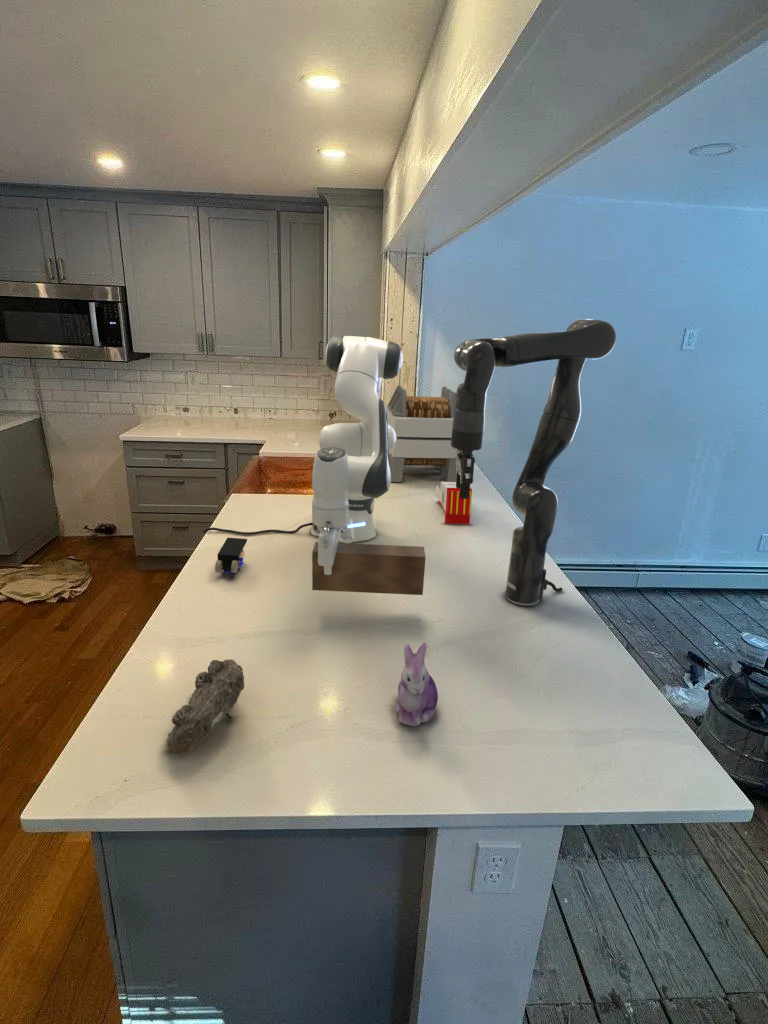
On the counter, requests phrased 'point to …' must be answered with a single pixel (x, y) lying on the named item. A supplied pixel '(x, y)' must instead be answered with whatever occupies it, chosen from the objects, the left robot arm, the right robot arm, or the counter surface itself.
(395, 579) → the box
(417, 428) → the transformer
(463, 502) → the toy
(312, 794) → the counter surface
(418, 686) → the figurine
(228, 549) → the black wheeled vehicle
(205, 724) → the fossil
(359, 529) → the left robot arm
